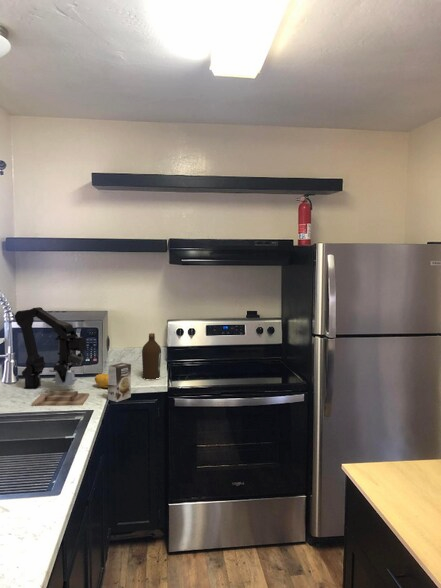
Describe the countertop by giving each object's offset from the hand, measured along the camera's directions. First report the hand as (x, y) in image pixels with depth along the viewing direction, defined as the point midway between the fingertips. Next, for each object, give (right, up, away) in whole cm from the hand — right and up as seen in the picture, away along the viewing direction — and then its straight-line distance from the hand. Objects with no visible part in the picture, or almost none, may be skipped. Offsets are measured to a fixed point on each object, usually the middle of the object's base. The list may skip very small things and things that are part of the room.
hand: (65, 380), depth 215 cm
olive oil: (+38, -4, +29) cm, 48 cm away
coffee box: (+29, -7, -9) cm, 31 cm away
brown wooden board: (+3, -6, -13) cm, 15 cm away
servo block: (0, -2, 0) cm, 2 cm away
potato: (+19, -5, +8) cm, 22 cm away
